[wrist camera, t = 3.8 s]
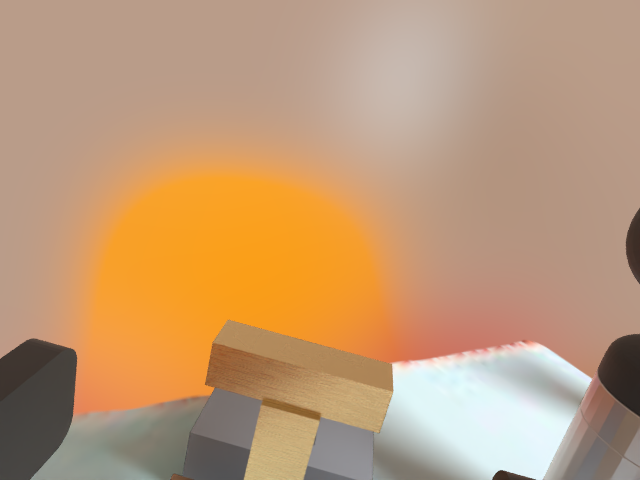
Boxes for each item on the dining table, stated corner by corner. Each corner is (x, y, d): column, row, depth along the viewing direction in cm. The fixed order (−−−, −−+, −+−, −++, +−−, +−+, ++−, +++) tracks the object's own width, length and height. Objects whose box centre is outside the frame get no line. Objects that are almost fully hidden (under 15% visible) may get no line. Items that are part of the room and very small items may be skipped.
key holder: (357, 457, 45) (373, 406, 43) (352, 542, 36) (372, 484, 34) (217, 417, 45) (227, 365, 43) (179, 492, 37) (190, 432, 35)
